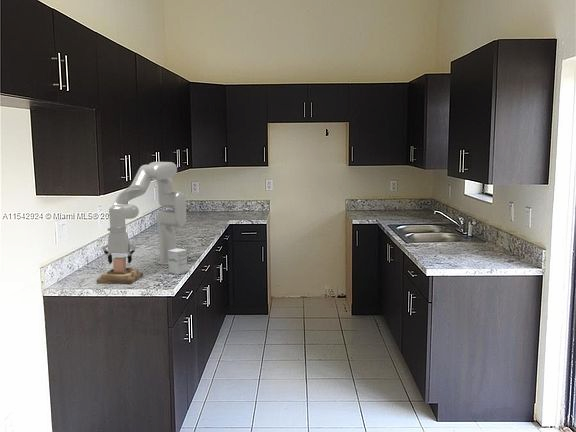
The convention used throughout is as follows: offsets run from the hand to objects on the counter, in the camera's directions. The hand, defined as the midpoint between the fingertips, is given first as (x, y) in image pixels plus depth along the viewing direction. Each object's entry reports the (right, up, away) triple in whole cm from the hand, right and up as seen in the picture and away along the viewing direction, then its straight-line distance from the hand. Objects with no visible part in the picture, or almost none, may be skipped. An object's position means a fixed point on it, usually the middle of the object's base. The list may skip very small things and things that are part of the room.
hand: (120, 262), depth 273 cm
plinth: (0, -9, +1) cm, 9 cm away
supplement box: (+27, -7, +16) cm, 32 cm away
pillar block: (0, -5, 0) cm, 5 cm away
